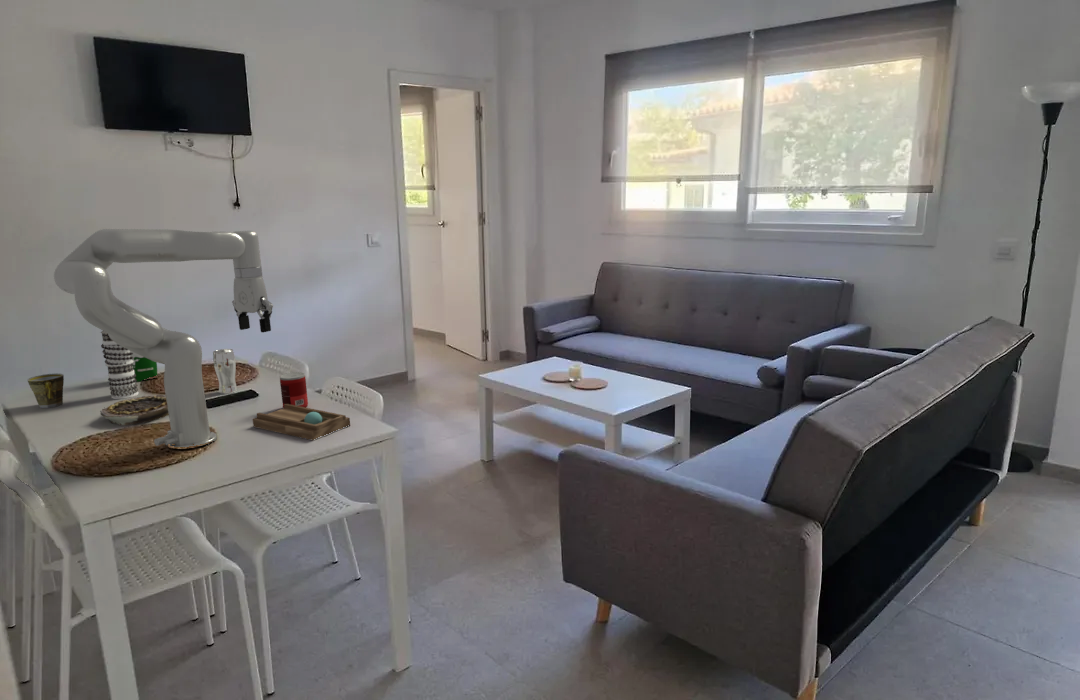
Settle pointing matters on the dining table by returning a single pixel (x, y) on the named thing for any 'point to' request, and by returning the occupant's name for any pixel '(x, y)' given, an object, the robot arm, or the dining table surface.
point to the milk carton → (143, 367)
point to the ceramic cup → (48, 389)
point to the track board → (300, 422)
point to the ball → (313, 418)
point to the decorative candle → (119, 369)
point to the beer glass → (225, 370)
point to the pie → (137, 410)
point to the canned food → (294, 389)
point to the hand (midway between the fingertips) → (255, 330)
